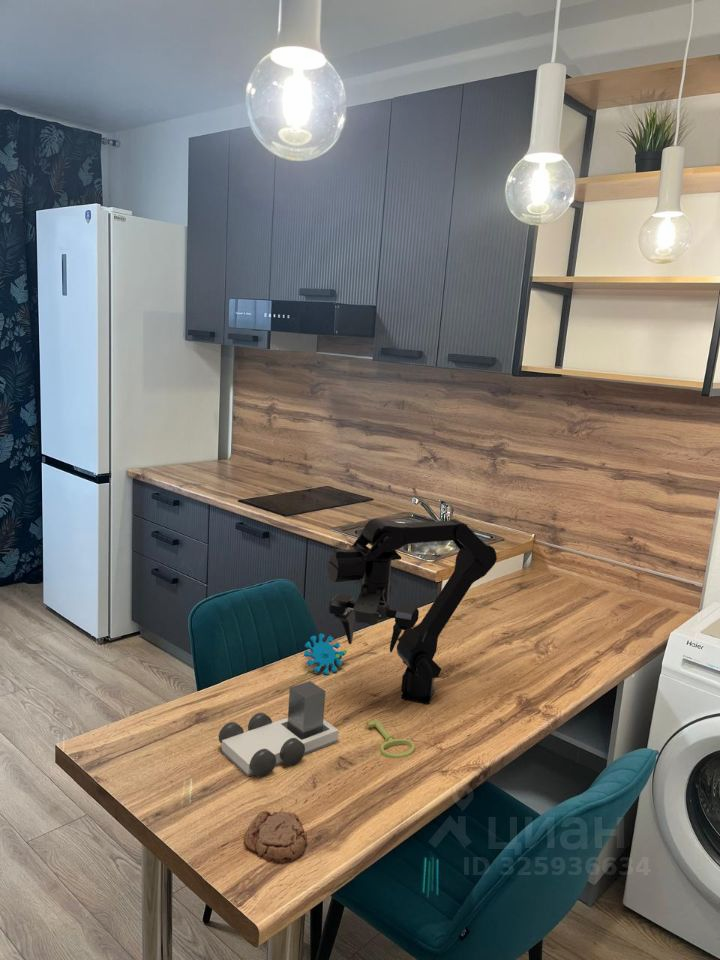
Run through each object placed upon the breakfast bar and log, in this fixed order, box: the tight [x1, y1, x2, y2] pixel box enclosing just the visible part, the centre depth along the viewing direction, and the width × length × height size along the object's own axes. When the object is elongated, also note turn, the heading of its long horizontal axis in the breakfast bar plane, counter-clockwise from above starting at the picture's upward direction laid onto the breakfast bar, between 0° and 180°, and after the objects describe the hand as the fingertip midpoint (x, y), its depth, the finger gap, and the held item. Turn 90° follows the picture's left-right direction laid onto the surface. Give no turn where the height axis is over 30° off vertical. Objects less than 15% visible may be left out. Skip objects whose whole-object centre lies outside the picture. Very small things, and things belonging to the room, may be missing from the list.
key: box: [365, 718, 416, 759], centre depth 145 cm, size 7×12×2 cm, turn 45°
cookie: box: [243, 810, 308, 864], centre depth 115 cm, size 10×11×3 cm
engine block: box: [287, 680, 326, 740], centre depth 144 cm, size 5×5×10 cm
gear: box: [303, 633, 348, 676], centre depth 176 cm, size 11×6×10 cm
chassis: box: [218, 712, 339, 778], centre depth 141 cm, size 21×13×5 cm, turn 131°
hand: (370, 647), depth 158 cm, fingers open, 9 cm apart
